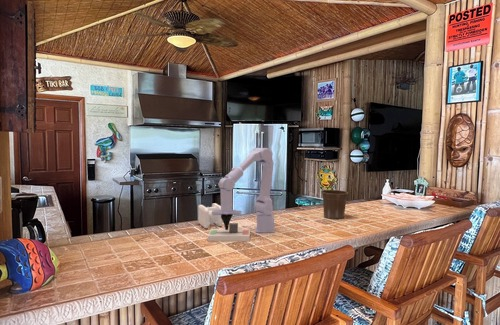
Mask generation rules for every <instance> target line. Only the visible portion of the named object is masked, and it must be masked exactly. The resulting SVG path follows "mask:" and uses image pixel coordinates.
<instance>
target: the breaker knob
mask: <svg viewBox="0 0 500 325" xmlns="http://www.w3.org/2000/svg"><path fill="white" fill-rule="evenodd" d="M228 229H229V233H238V229H239V223H237V222H235V223H234V222H232V223H230V222H229V227H228Z"/></svg>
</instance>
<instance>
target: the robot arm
mask: <svg viewBox="0 0 500 325" xmlns="http://www.w3.org/2000/svg"><path fill="white" fill-rule="evenodd" d="M254 162H259V163H260V165H261V166H262V172H261V179H260V180H261V181H260V189H259V194H258V196H257V197H256V199H255V202H254V205H253V209H254V211H255V214H256V227H255V233H275V228H276V227H275V215H274V214H272V213H273V211H274V206H273V200H272V198H271V188H272V180H273V172H274V171H273V170H274V160H273V152H272V151H271V149H270V148H269V147H254V148H253V149H252V150H251V151H250V152H249V154H248V155H247V156H246V157H245V159H244V160H243V161H242V162H241V163H240V165H239V166H234V167H232V168H231V170H230V171H229V173H227V174H226V175H225V177H222V178H220V179H219V182H218V183H217V185H218V188H220V206H221V210H217V211H212V215H221V218H222V224H223V225H224V229H225V230H228V229H229V224H230V221H231V219H232V217H233V216H242V210H237V209H236V210H235V209H233V189H234V188H235V185H236V183H237V182H238V181H239V180H240V179H241V178H242V177H243V176H244V171H245V170H246V169H248V168H249V167H250V166H251V165H252V164H253V163H254Z"/></svg>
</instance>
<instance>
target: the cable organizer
mask: <svg viewBox="0 0 500 325" xmlns="http://www.w3.org/2000/svg"><path fill="white" fill-rule="evenodd" d="M197 206H198V208H197V209H198V211H197V212H198V214H197V215H198V223H199V224H200V226H201V227H203V228H204V229H208V228H209V227H210V226H211V224H214V225H216V226H218V227H221V226H223V220H222V218H221V215H212V211H217V210H221V204H218V203H216V202H215V203H211V206H210V207H209V206H207V207H206V206H205V205H204V204H198V205H197Z"/></svg>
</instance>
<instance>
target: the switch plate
mask: <svg viewBox="0 0 500 325" xmlns="http://www.w3.org/2000/svg"><path fill="white" fill-rule="evenodd" d="M250 237H251V229H250V228H248V229H247V228H238V233H229V228H228V230H225V228H211V229H210V230H209V232H208V234H207V242H250V239H251V238H250Z"/></svg>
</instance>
